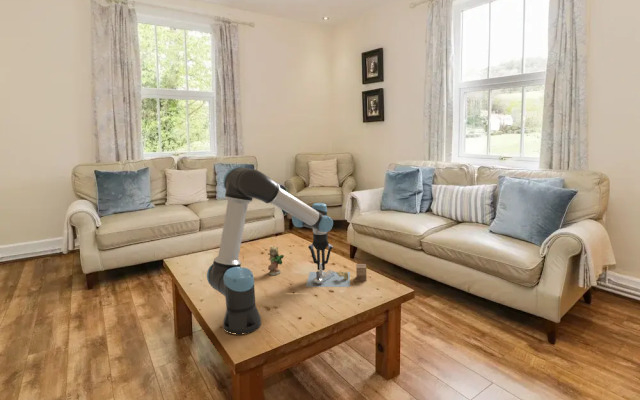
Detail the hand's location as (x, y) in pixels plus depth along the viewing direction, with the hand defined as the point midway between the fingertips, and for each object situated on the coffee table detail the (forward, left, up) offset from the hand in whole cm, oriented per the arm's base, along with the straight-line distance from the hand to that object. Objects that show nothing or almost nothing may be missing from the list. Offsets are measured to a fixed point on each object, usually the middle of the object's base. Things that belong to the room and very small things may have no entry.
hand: (321, 275), depth 196 cm
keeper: (-3, -11, -2) cm, 12 cm away
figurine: (+8, +26, -2) cm, 27 cm away
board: (-2, -4, -2) cm, 5 cm away
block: (-1, -21, -2) cm, 21 cm away
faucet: (-3, -2, -1) cm, 3 cm away
